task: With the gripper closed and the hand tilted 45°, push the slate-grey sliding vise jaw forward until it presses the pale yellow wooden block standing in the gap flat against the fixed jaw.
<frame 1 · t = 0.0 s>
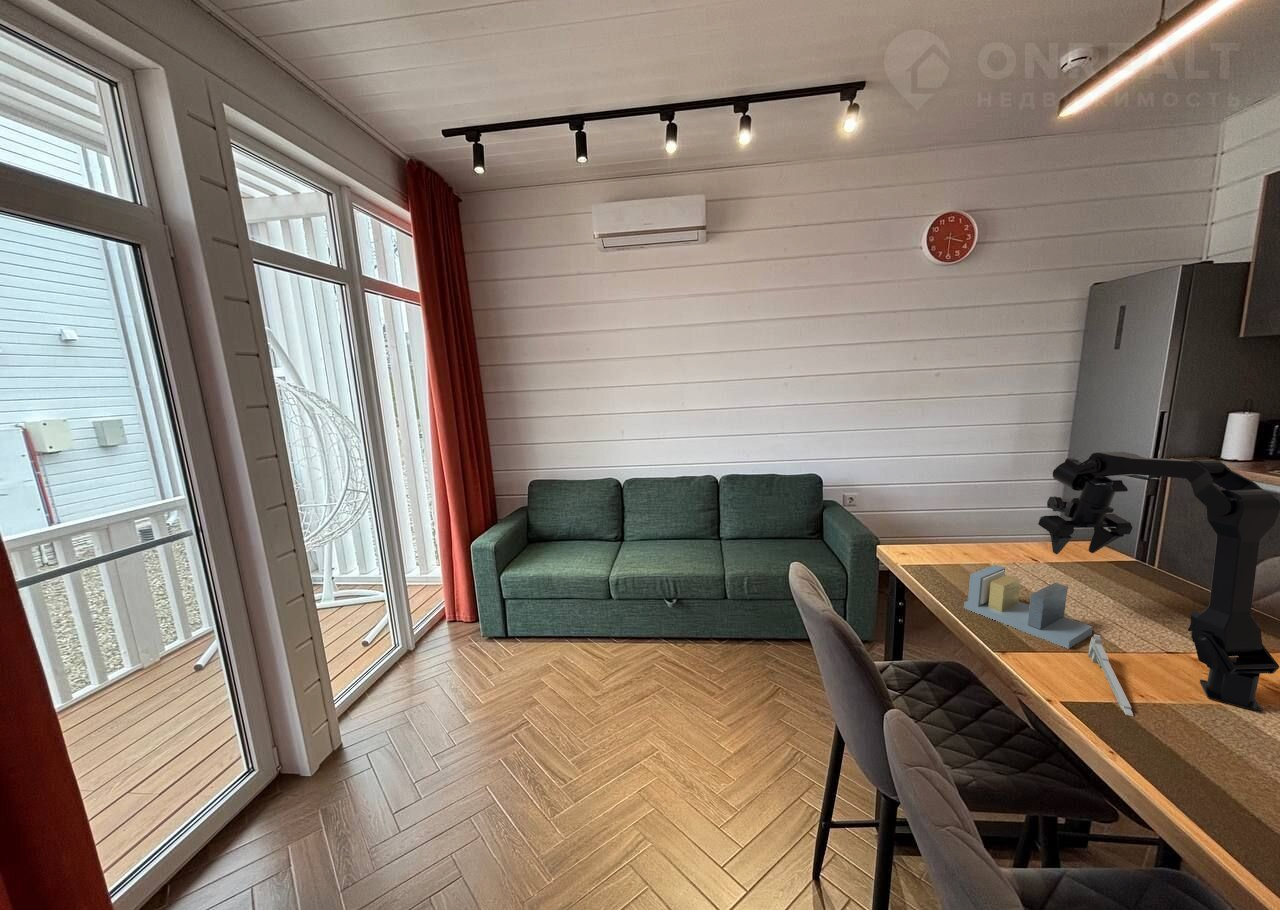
hand: (1072, 552, 121), 15 cm above the table, tool pointing down, fingers open, 9 cm apart
pale yellow wooden block: (1002, 605, 122), point 2 cm above the table, touching vise
sliding jaw: (1046, 605, 113), point 6 cm above the table, slide at 0.0 cm
vise: (1024, 620, 118), on the table
caliper: (1108, 685, 94), on the table
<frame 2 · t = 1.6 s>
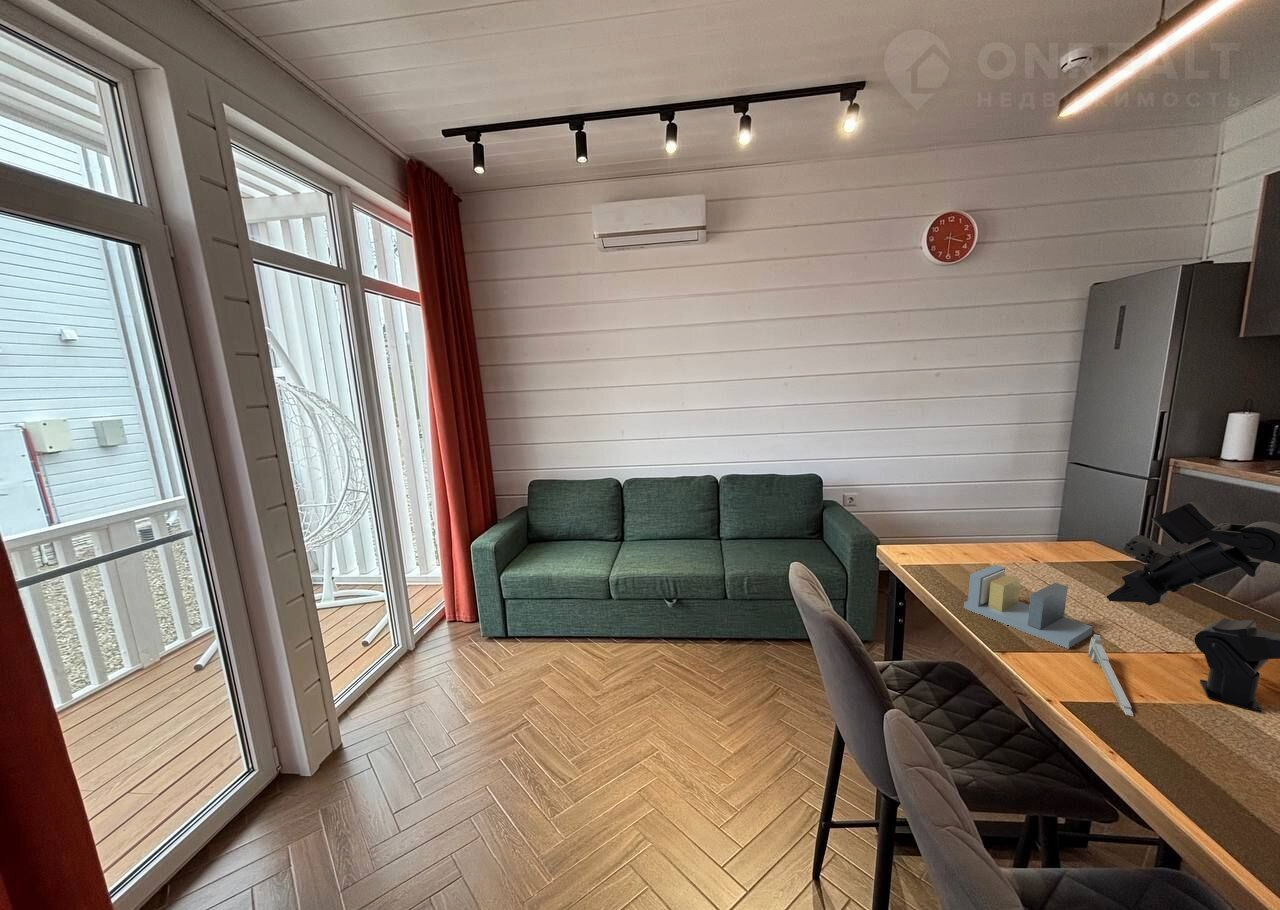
hand: (1115, 594, 102), 14 cm above the table, tool tilted 45°, fingers open, 7 cm apart
nothing on the table moved.
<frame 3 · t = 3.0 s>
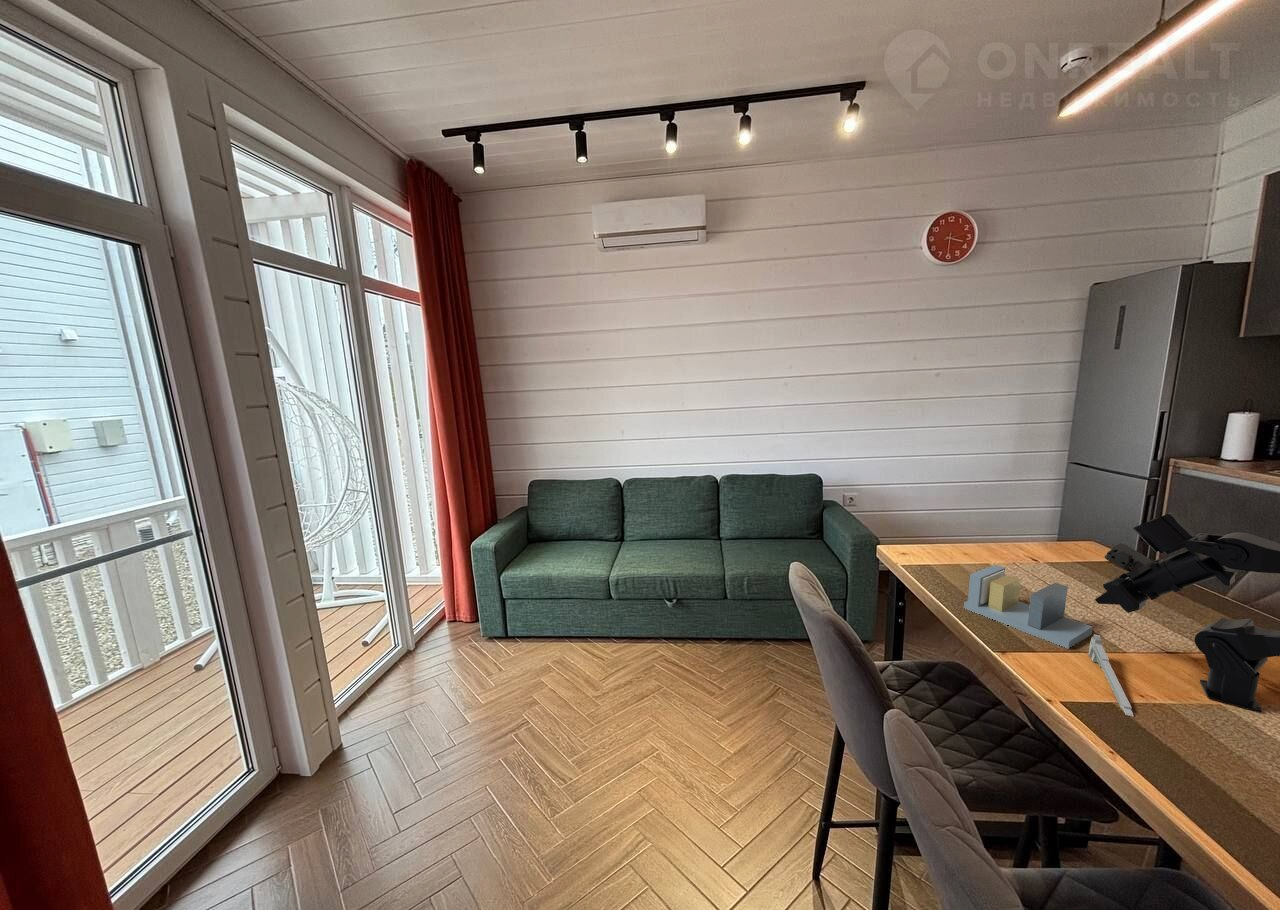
hand: (1097, 601, 105), 11 cm above the table, tool tilted 45°, fingers closed
nothing on the table moved.
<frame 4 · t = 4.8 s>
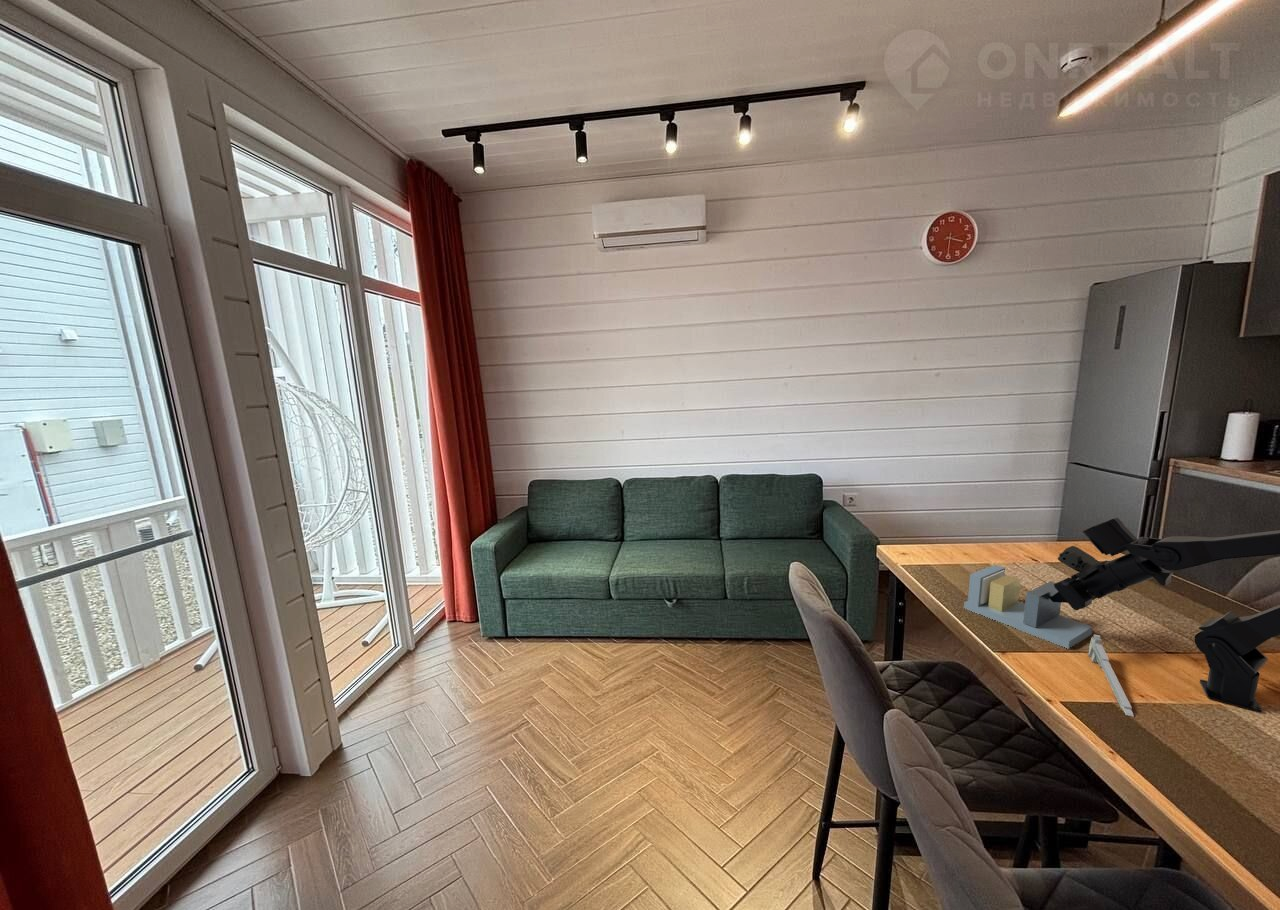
hand: (1051, 599, 112), 8 cm above the table, tool tilted 45°, fingers closed, pressing on sliding jaw
sliding jaw: (1042, 603, 114), point 6 cm above the table, slide at 0.9 cm, touching gripper
everything else where it was.
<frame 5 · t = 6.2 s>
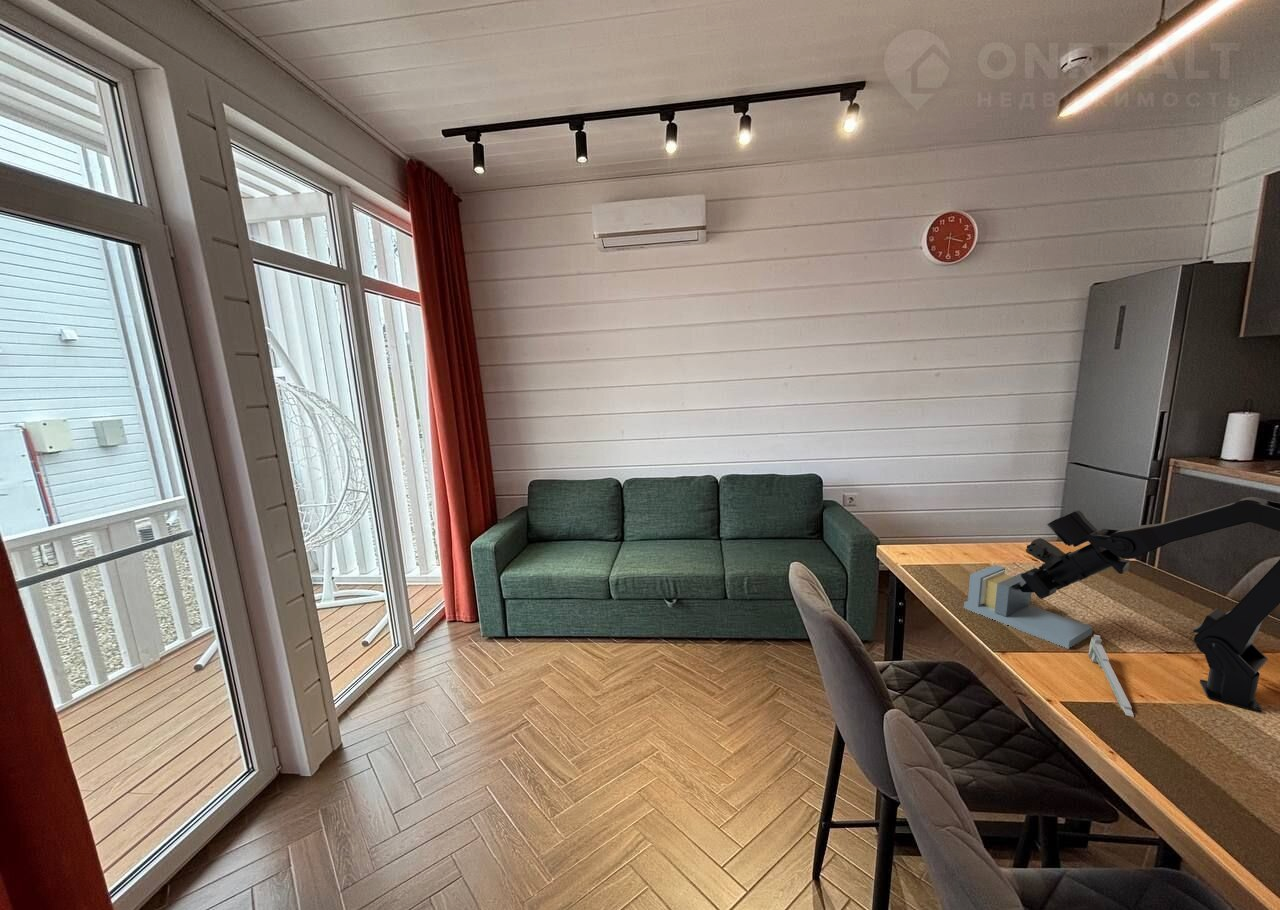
hand: (1021, 590, 118), 8 cm above the table, tool tilted 45°, fingers closed, pressing on sliding jaw
pale yellow wooden block: (998, 604, 123), point 2 cm above the table, touching sliding jaw, vise
sliding jaw: (1013, 593, 120), point 6 cm above the table, slide at 7.0 cm, touching pale yellow wooden block, gripper
everything else where it was.
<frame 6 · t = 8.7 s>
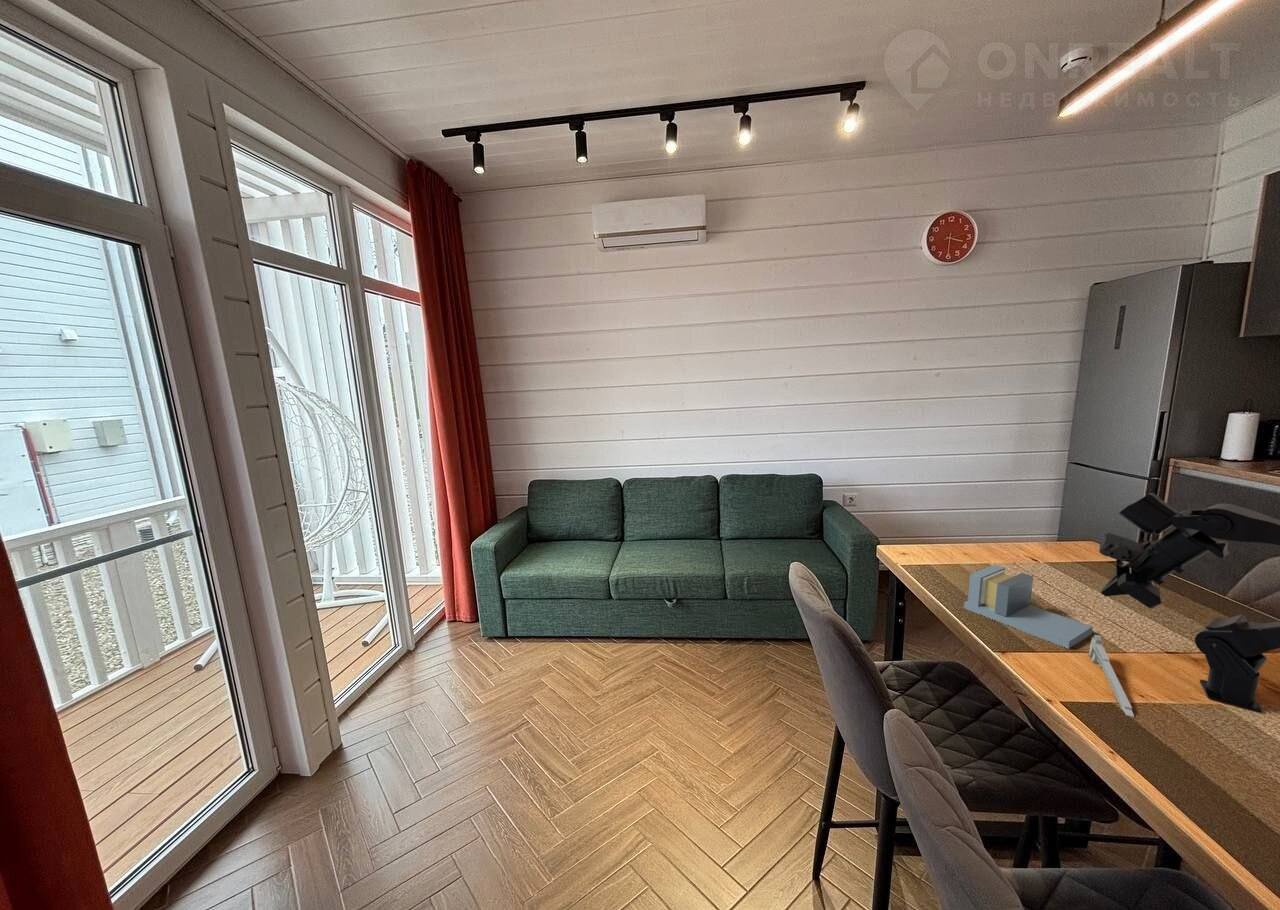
hand: (1103, 593, 104), 13 cm above the table, tool tilted 35°, fingers closed
pale yellow wooden block: (998, 604, 123), point 2 cm above the table, touching vise
sliding jaw: (1013, 593, 120), point 6 cm above the table, slide at 7.0 cm
everything else where it was.
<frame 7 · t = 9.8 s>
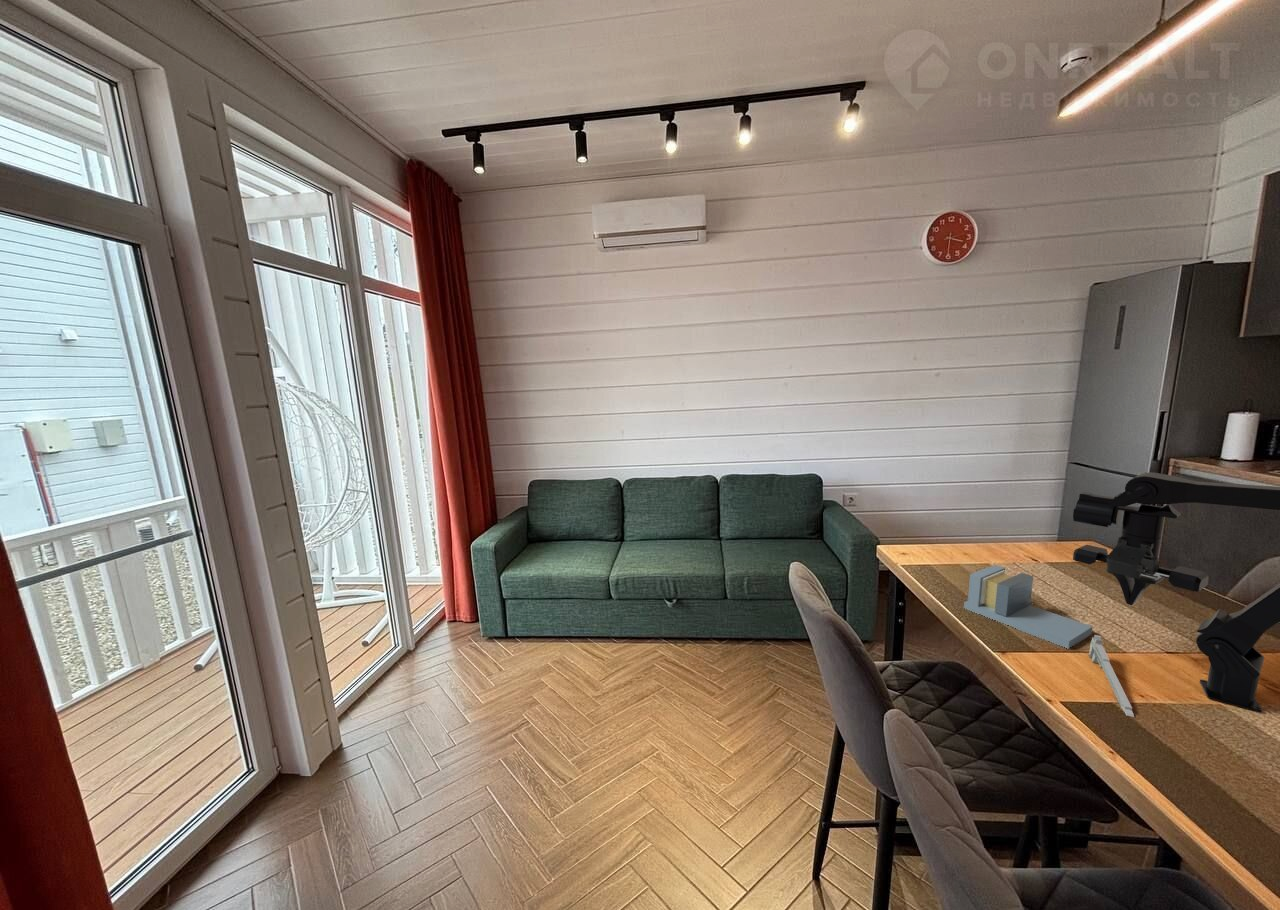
hand: (1130, 604, 99), 13 cm above the table, tool pointing down, fingers closed
nothing on the table moved.
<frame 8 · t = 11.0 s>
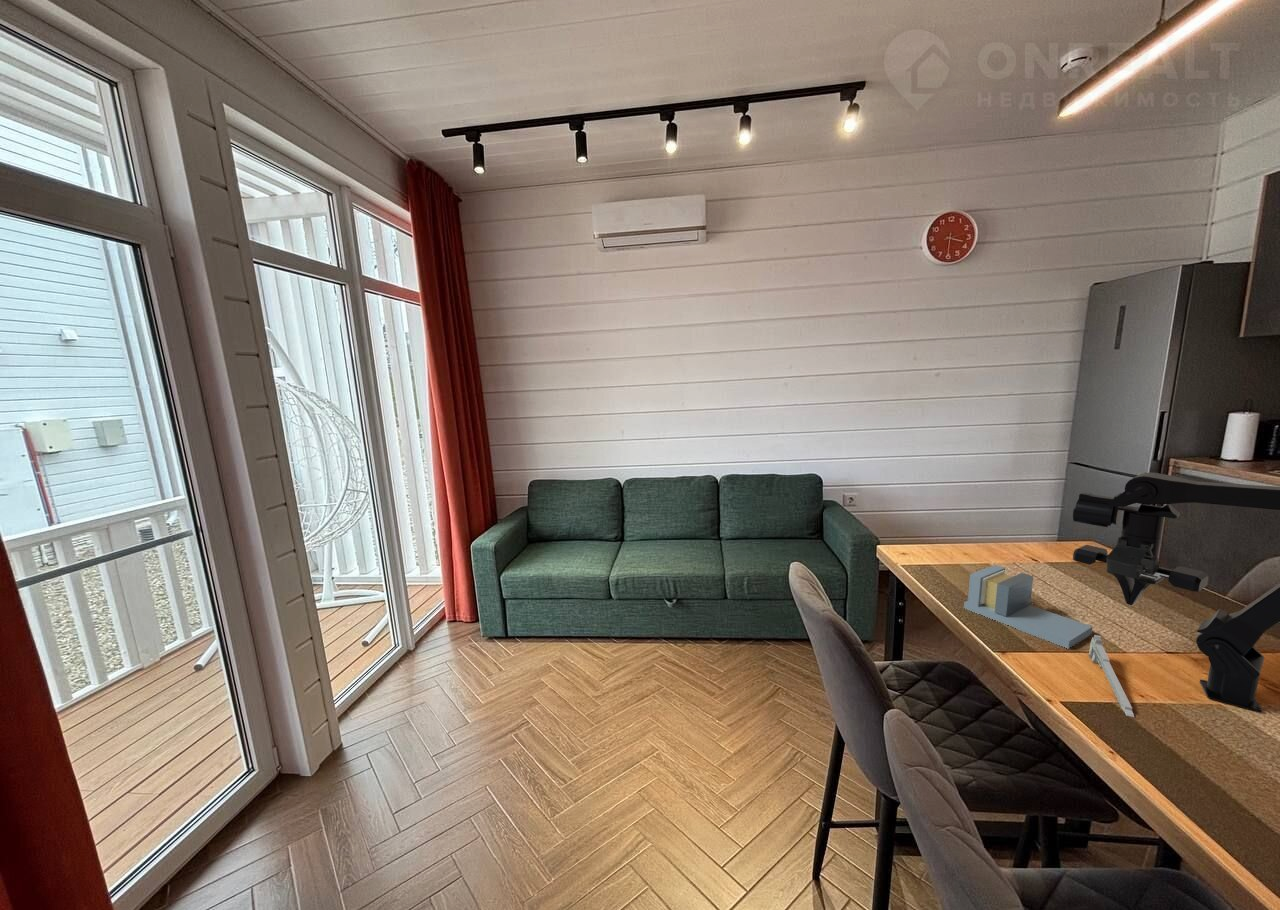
hand: (1130, 604, 99), 13 cm above the table, tool pointing down, fingers closed
nothing on the table moved.
at the end: sliding jaw slide at 7.0 cm; pale yellow wooden block tilted 0°; pale yellow wooden block 0.2 cm from the target spot on the vise, point 2.0 cm above the vise's base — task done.
